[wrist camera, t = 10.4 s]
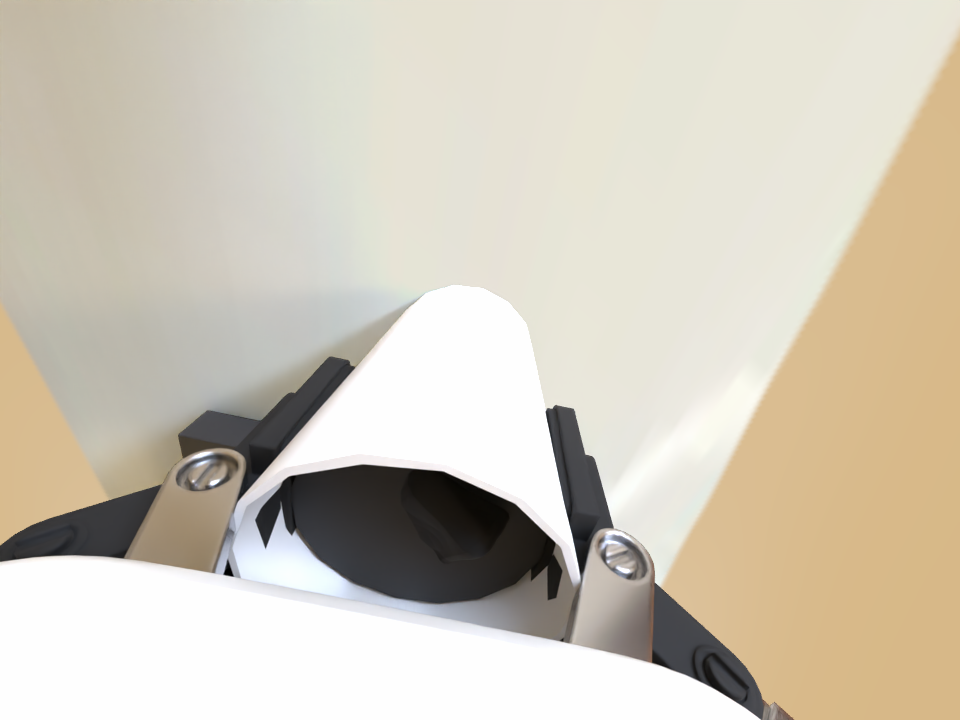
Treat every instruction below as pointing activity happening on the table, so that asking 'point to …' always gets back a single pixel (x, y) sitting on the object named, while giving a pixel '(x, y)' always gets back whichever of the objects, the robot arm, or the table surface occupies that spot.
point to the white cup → (426, 478)
